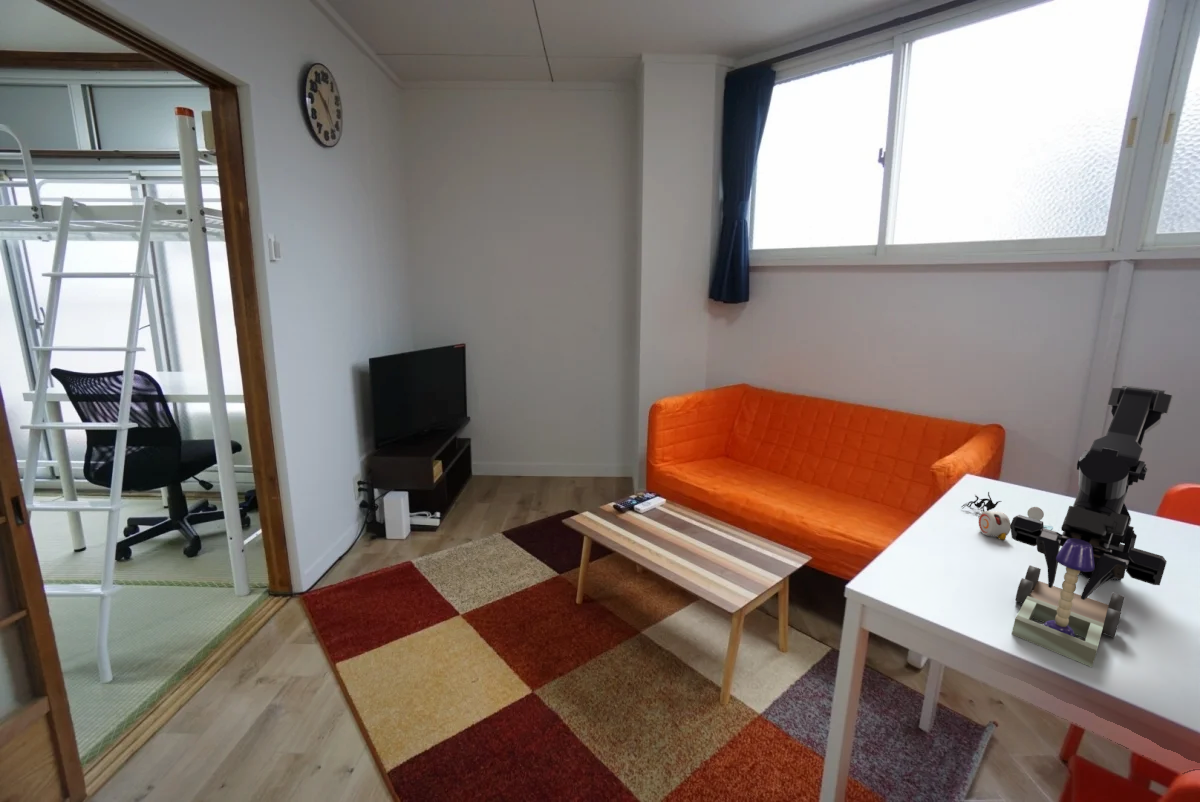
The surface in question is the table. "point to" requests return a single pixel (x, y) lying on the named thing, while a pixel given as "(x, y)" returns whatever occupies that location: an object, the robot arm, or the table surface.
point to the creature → (988, 505)
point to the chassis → (1083, 620)
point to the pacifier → (1037, 515)
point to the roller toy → (994, 524)
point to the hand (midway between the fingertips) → (1065, 592)
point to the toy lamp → (1071, 579)
